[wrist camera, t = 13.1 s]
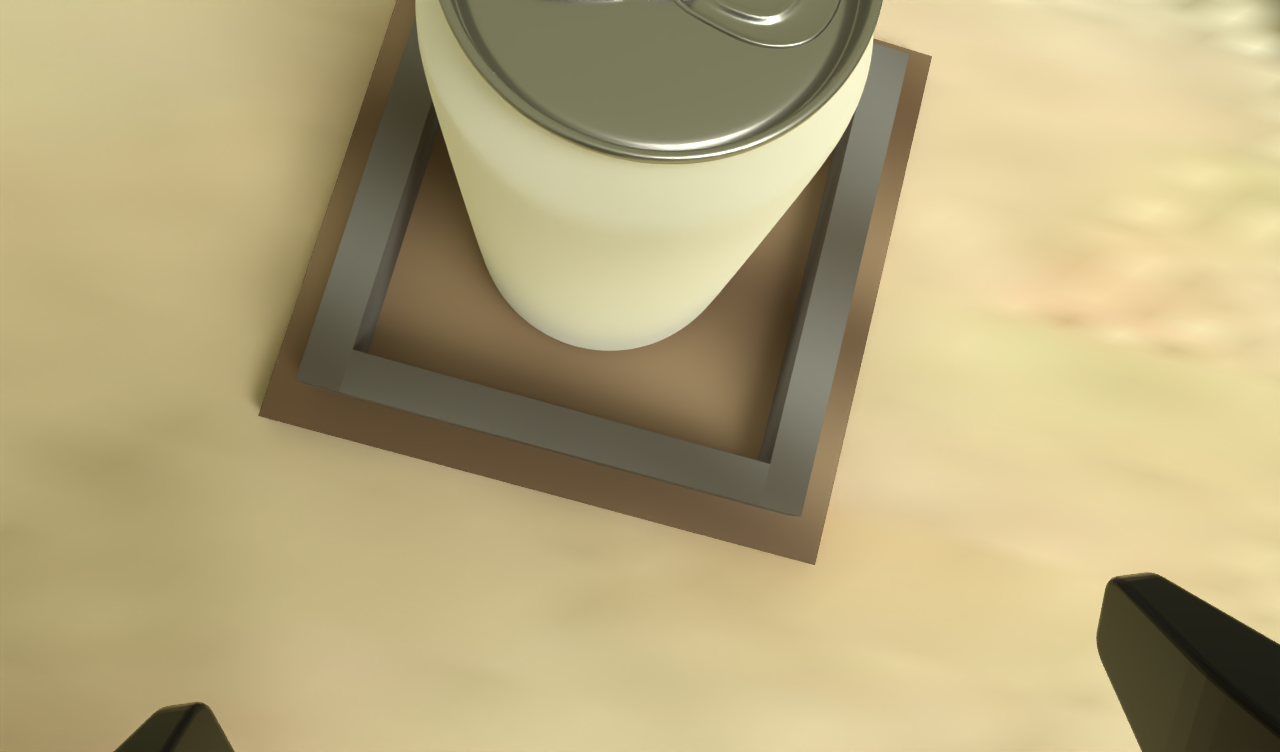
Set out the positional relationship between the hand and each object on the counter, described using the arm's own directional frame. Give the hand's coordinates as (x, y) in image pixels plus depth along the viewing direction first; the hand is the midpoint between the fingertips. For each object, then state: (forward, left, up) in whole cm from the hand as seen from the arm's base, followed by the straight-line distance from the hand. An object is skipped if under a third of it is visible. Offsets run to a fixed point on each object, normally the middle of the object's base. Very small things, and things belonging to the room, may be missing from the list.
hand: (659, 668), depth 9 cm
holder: (+8, +2, -13) cm, 16 cm away
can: (+8, +2, -13) cm, 15 cm away
